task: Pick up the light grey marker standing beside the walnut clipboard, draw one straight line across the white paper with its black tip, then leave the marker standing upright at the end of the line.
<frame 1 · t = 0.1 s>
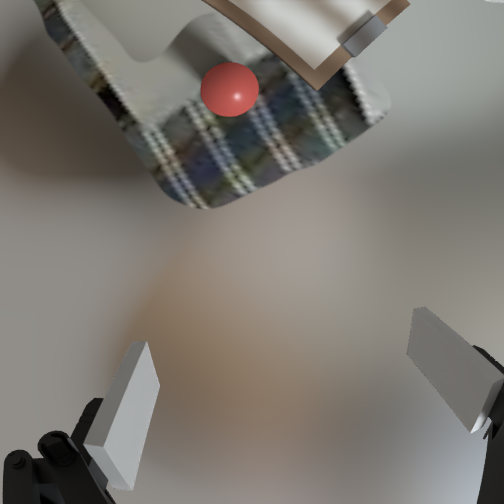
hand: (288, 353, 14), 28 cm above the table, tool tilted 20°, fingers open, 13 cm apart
marker: (226, 81, 31), on the table
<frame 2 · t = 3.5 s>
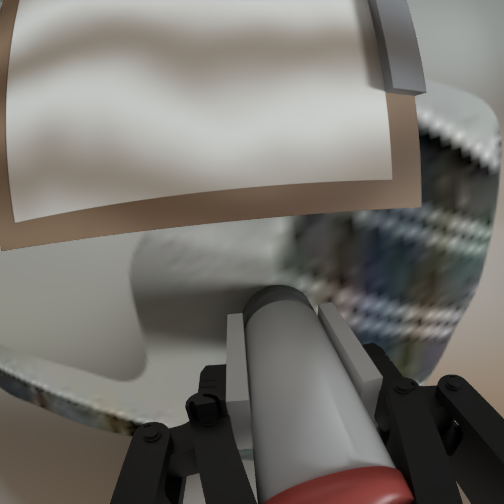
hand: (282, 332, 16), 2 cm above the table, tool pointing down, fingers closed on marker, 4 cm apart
marker: (278, 317, 18), on the table, touching gripper
clipboard: (178, 53, 13), on the table
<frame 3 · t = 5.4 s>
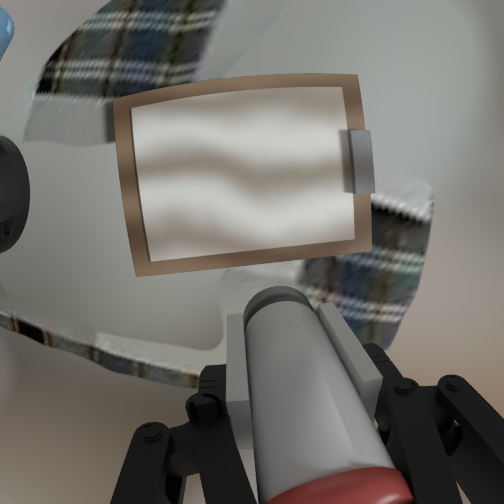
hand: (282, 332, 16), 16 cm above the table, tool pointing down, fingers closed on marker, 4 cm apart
marker: (278, 318, 18), point 14 cm above the table, touching gripper
clipboard: (244, 170, 29), on the table
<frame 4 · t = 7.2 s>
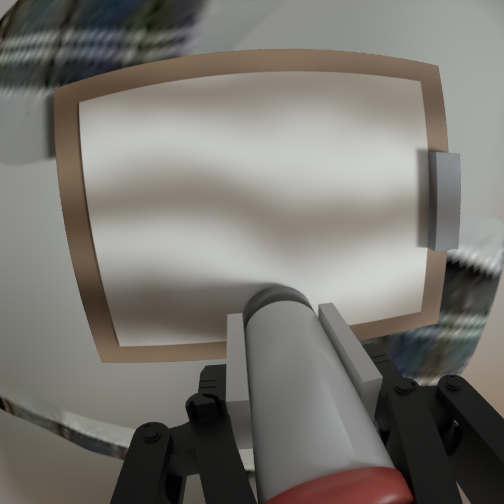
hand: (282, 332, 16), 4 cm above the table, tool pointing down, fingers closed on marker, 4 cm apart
marker: (278, 318, 18), point 2 cm above the table, touching gripper
clipboard: (265, 206, 18), on the table
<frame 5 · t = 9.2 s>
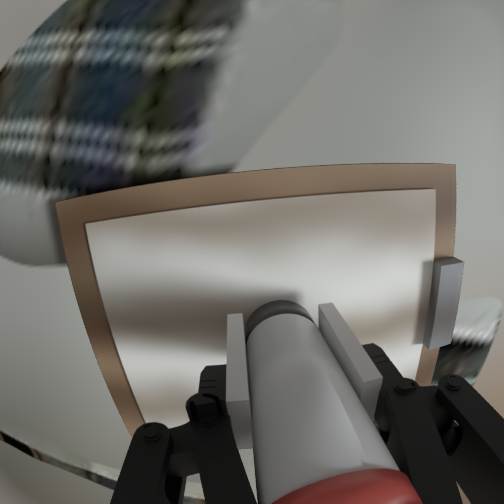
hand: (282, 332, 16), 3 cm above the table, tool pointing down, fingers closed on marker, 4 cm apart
marker: (279, 332, 17), point 2 cm above the table, touching gripper
clipboard: (276, 317, 19), on the table
when the fingers open (4 cm above the table, at t = 10.9 s): marker drops 1 cm, resting on clipboard.
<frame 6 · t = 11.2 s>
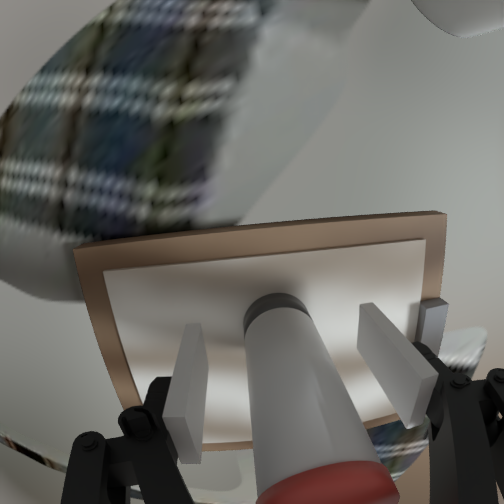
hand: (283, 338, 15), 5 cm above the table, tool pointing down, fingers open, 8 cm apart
marker: (276, 323, 19), point 2 cm above the table, touching clipboard
clipboard: (275, 350, 21), on the table
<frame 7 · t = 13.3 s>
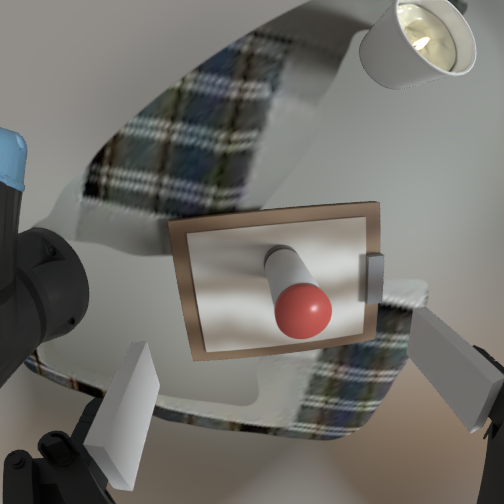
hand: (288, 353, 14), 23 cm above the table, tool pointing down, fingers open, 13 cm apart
candle holder: (387, 60, 31), on the table
marker: (281, 262, 35), point 2 cm above the table, touching clipboard
clipboard: (281, 283, 37), on the table
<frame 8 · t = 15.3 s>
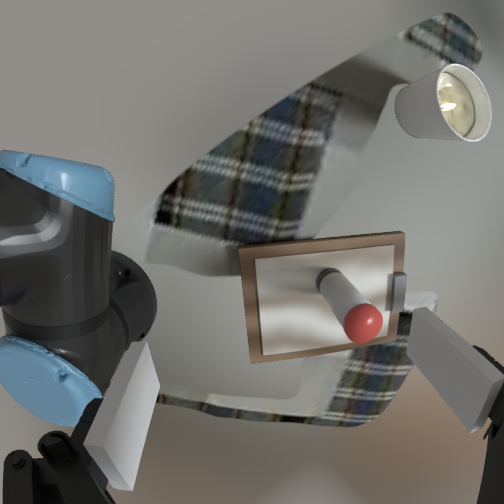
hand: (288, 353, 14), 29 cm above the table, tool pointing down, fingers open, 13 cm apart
candle holder: (416, 112, 38), on the table
marker: (329, 281, 42), point 2 cm above the table, touching clipboard
clipboard: (326, 297, 45), on the table
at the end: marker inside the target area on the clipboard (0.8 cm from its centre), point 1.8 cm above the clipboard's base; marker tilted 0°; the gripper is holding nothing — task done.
